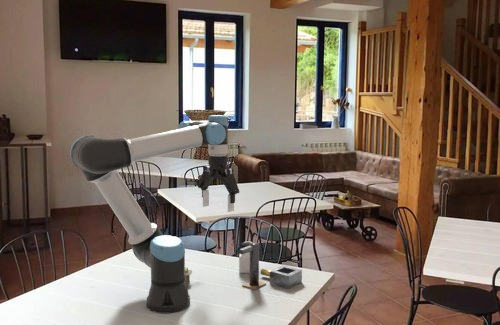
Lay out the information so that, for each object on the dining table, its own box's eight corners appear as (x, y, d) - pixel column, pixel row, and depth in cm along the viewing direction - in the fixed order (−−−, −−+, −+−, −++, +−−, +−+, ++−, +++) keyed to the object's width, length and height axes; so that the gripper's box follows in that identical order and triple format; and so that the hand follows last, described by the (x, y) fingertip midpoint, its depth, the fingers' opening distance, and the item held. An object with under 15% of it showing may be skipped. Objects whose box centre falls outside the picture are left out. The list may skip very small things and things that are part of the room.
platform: (206, 288, 194) (206, 271, 193) (159, 293, 188) (159, 276, 187) (199, 277, 205) (198, 261, 204) (154, 282, 199) (154, 266, 199)
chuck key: (253, 281, 198) (253, 241, 196) (260, 283, 196) (260, 243, 194) (237, 289, 190) (237, 247, 188) (244, 291, 188) (244, 249, 186)
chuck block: (289, 288, 192) (289, 276, 192) (255, 279, 202) (255, 267, 201) (301, 282, 199) (301, 269, 199) (268, 273, 209) (268, 261, 208)
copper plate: (254, 290, 191) (254, 288, 191) (242, 286, 195) (242, 284, 195) (265, 284, 196) (265, 283, 196) (253, 281, 200) (253, 279, 200)
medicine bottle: (256, 273, 209) (256, 245, 207) (239, 273, 209) (239, 245, 208) (256, 267, 216) (256, 240, 214) (239, 267, 216) (239, 240, 215)
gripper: (188, 153, 202) (189, 205, 205) (235, 158, 186) (235, 215, 189) (202, 151, 208) (202, 202, 210) (248, 156, 192) (248, 211, 194)
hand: (218, 208), depth 199 cm, fingers open, 13 cm apart
